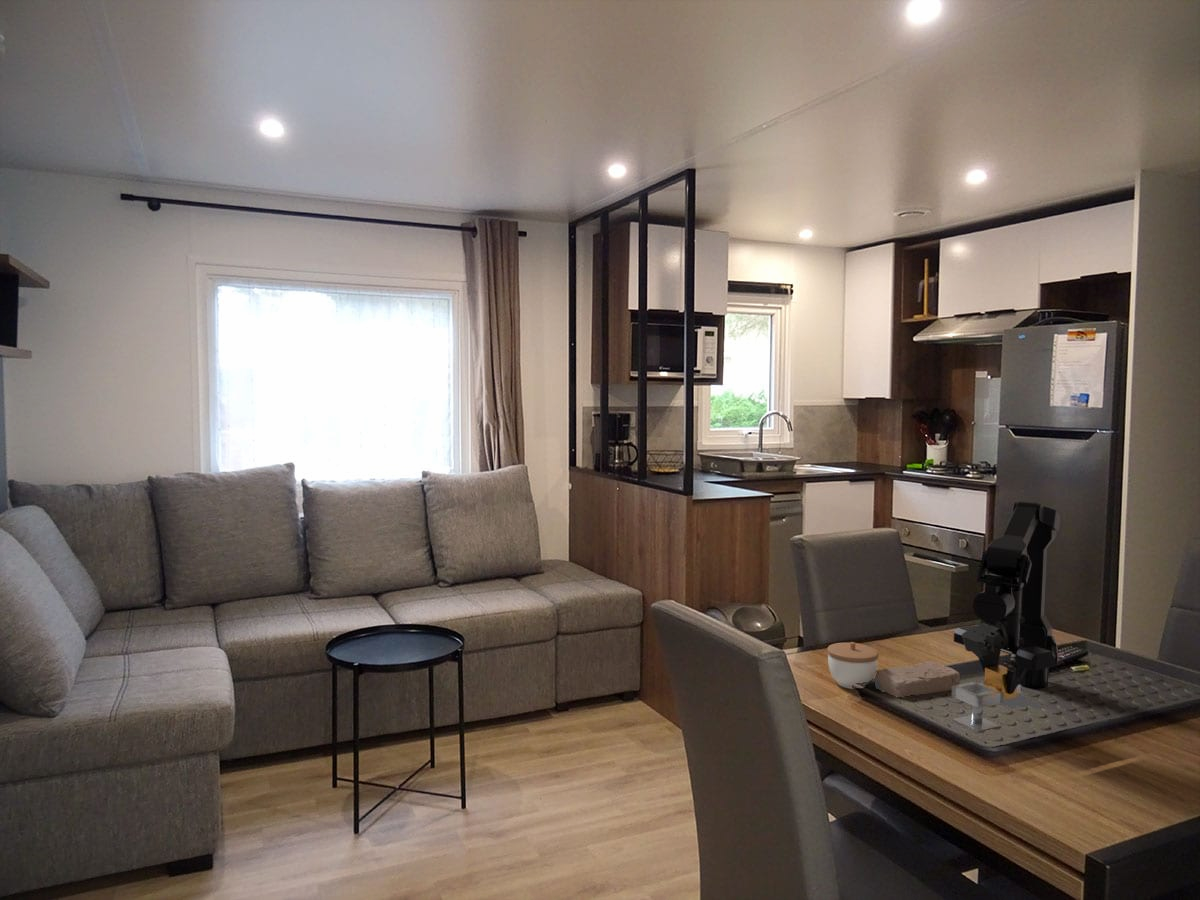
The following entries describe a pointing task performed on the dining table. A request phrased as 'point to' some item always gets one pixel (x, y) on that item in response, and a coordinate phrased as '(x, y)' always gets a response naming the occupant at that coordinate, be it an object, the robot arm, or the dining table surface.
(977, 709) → the metal knob
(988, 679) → the grey and orange frame
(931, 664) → the brick
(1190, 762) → the dining table surface
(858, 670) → the lidded jar
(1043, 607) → the robot arm
